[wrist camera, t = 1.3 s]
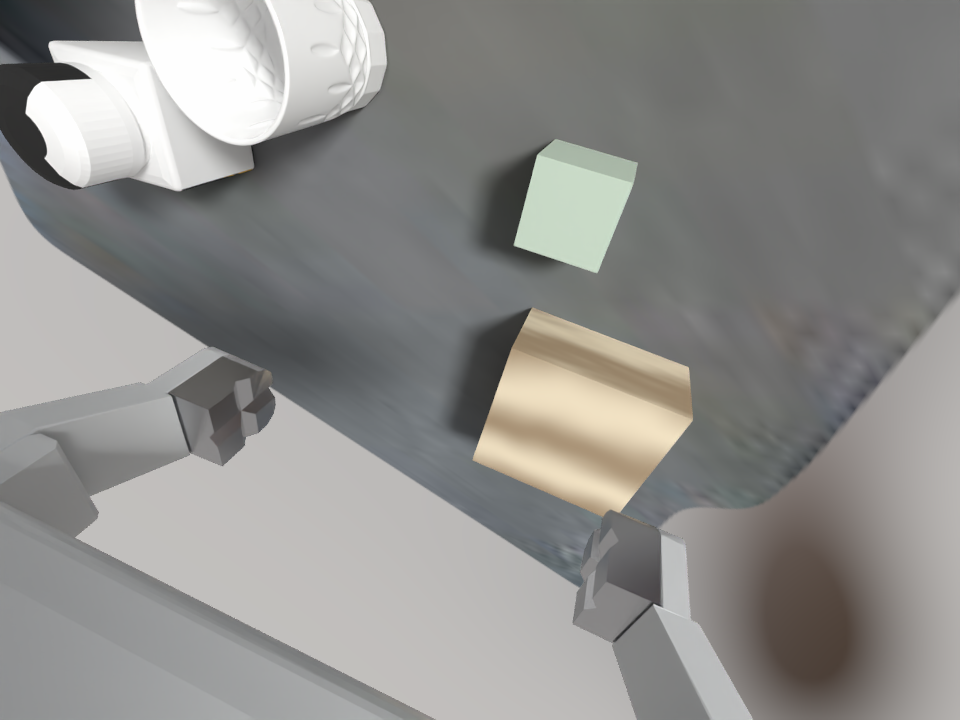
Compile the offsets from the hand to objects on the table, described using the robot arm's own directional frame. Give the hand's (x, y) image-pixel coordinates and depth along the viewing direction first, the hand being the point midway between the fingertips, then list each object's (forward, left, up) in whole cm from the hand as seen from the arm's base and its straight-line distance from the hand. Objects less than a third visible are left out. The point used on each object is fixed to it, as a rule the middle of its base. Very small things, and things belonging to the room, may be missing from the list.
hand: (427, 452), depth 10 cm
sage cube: (0, 0, -23) cm, 23 cm away
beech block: (+15, +5, -23) cm, 28 cm away
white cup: (-4, -17, -23) cm, 29 cm away
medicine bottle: (+2, -28, -23) cm, 36 cm away
